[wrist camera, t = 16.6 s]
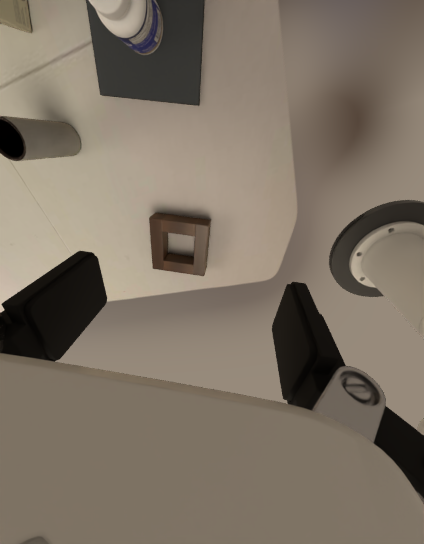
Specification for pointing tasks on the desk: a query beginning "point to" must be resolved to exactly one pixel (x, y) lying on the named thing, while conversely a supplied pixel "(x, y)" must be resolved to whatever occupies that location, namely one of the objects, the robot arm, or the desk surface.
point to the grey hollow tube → (36, 139)
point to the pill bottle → (132, 22)
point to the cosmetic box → (15, 14)
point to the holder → (185, 226)
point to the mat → (153, 57)
